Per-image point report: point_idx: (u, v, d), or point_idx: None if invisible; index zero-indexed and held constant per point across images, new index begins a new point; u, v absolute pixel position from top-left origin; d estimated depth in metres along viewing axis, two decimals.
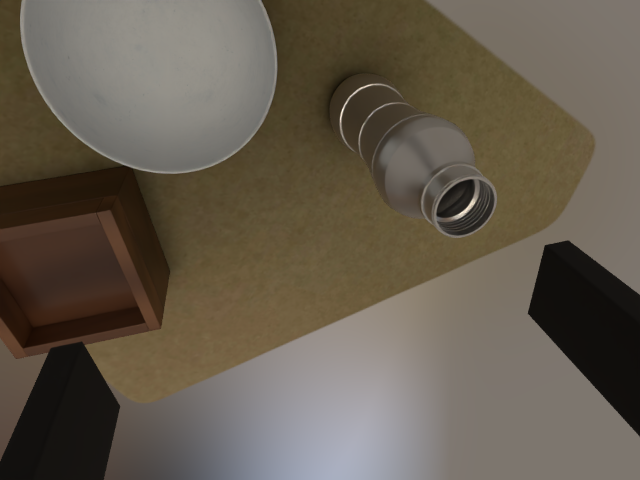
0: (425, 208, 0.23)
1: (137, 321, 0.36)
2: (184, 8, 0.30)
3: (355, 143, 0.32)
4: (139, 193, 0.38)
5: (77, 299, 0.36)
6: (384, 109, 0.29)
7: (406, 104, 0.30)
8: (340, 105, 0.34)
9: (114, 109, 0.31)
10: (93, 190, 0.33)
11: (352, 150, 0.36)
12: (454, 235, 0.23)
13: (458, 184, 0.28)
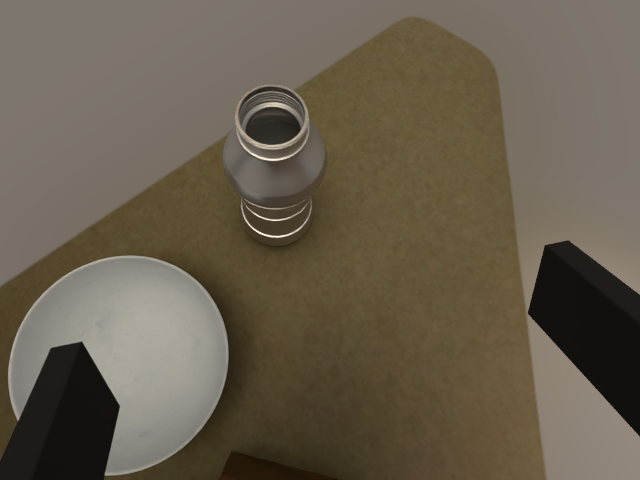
0: (266, 155, 0.22)
1: None
2: (128, 325, 0.36)
3: (270, 223, 0.32)
4: (259, 460, 0.35)
5: None
6: None
7: None
8: (250, 229, 0.36)
9: (160, 427, 0.33)
10: None
11: (296, 233, 0.36)
12: (300, 132, 0.21)
13: None
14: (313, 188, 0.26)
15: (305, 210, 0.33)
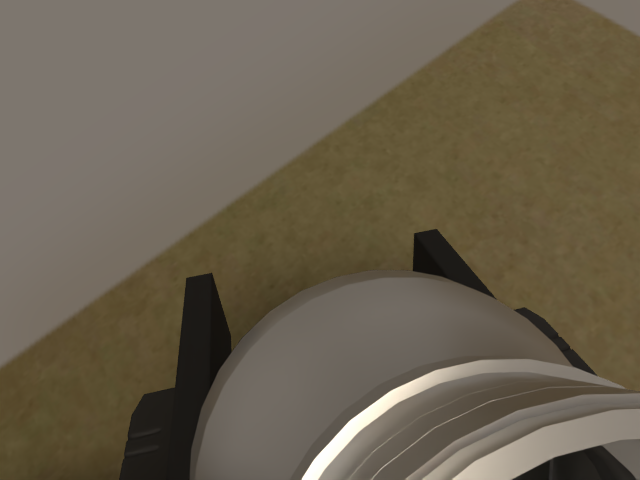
0: None
1: None
2: None
3: None
4: None
5: None
6: None
7: None
8: None
9: None
10: None
11: None
12: None
13: None
14: None
15: None
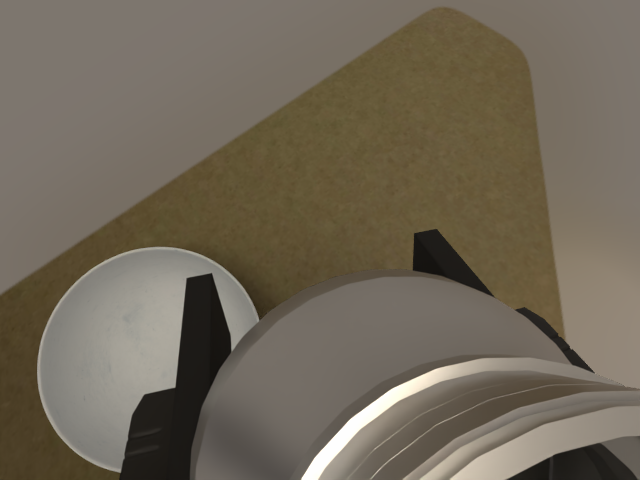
0: None
1: None
2: (155, 320, 0.35)
3: None
4: None
5: None
6: None
7: None
8: None
9: None
10: None
11: None
12: None
13: None
14: None
15: None
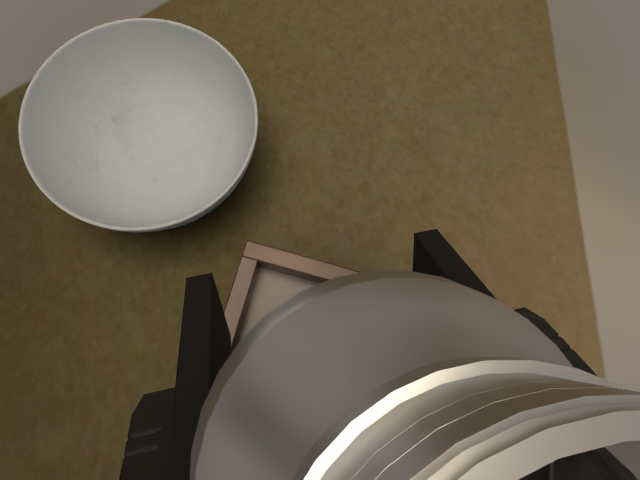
0: None
1: None
2: (145, 127, 0.33)
3: None
4: None
5: None
6: None
7: None
8: None
9: (182, 216, 0.30)
10: None
11: None
12: None
13: None
14: None
15: None
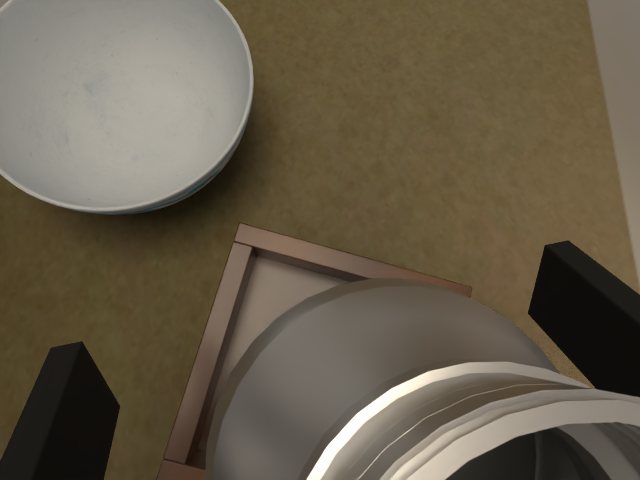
0: None
1: None
2: (124, 97, 0.29)
3: None
4: None
5: None
6: None
7: None
8: None
9: None
10: None
11: None
12: None
13: None
14: None
15: None
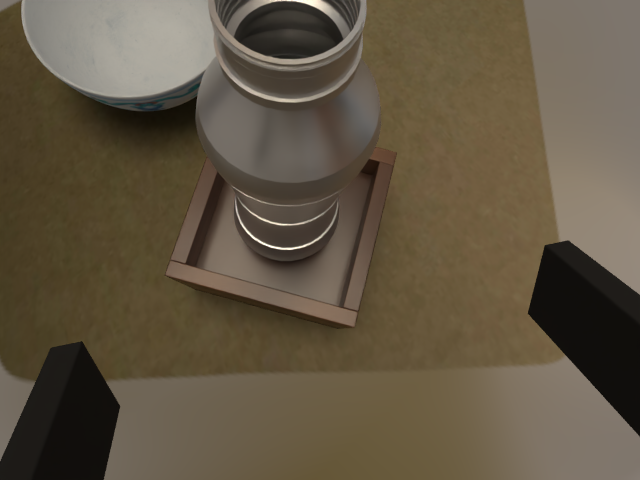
0: (275, 89, 0.10)
1: (375, 174, 0.28)
2: (137, 32, 0.36)
3: (278, 229, 0.21)
4: None
5: None
6: None
7: None
8: (248, 238, 0.24)
9: None
10: None
11: (316, 243, 0.25)
12: (351, 33, 0.10)
13: None
14: (358, 168, 0.14)
15: (332, 209, 0.22)
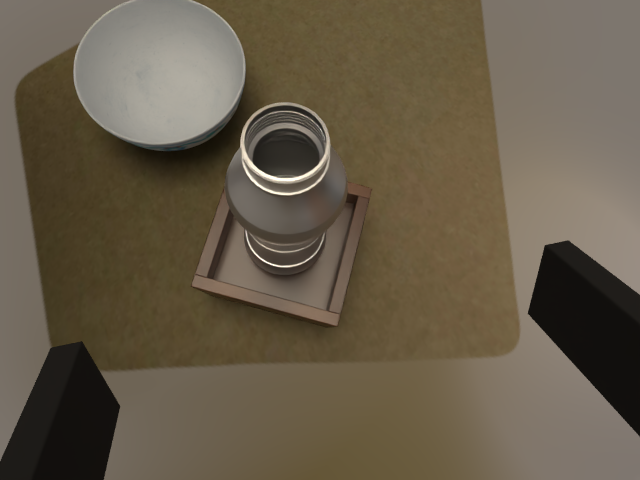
0: (278, 189, 0.18)
1: (355, 205, 0.36)
2: (161, 81, 0.44)
3: (279, 254, 0.28)
4: None
5: None
6: None
7: None
8: (256, 258, 0.32)
9: None
10: None
11: (308, 261, 0.32)
12: (320, 161, 0.17)
13: None
14: (332, 222, 0.22)
15: (318, 238, 0.29)
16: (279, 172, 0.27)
